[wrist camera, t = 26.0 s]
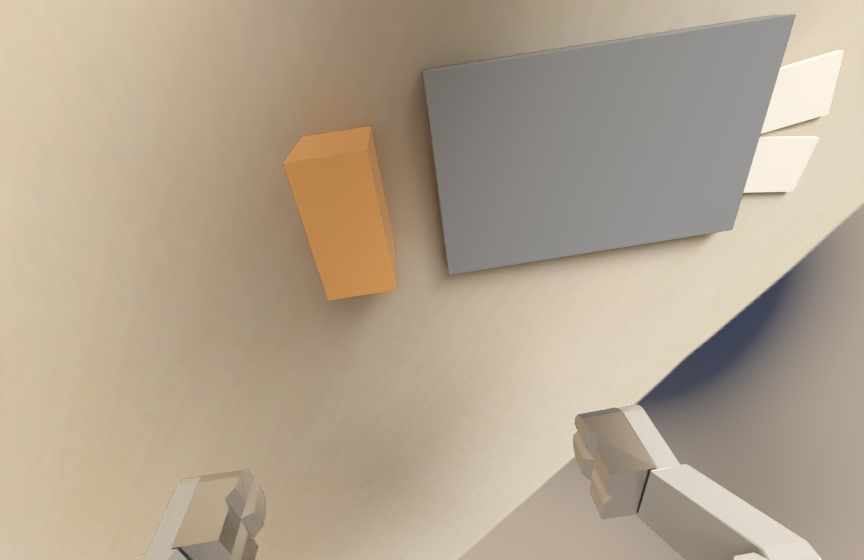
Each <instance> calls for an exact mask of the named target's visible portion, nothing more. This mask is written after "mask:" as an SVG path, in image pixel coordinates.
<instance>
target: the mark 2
mask: <svg viewBox="0 0 864 560" xmlns="http://www.w3.org/2000/svg"><path fill="white" fill-rule="evenodd" d="M818 140H819V137H816V136H782V137H760V138H759V141H758V144H757V148H756V151H755V155H754V158H753V161H752V165H751V168H750V171H749V175H748V178H747V182H746V185H745V188H744V192H743V193H753V192H790V191H793V190H794V188H795V186H796V184H797V182H798V180H799V178H800V176H801V174H802V172H803V170H804V168H805V166H806V164H807V162H808V160H809V158H810V156H811V154H812V152H813V150H814V148H815V146H816V144H817V142H818Z"/></svg>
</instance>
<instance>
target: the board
mask: <svg viewBox="0 0 864 560" xmlns="http://www.w3.org/2000/svg"><path fill="white" fill-rule="evenodd" d="M795 16H796V15H771V16H765V17H759V18H752V19H746V20H739V21H733V22H727V23H720V24H714V25H707V26H701V27H695V28H688V29H682V30H675V31H669V32H663V33H656V34H650V35H643V36H637V37H631V38H624V39H618V40H611V41H605V42H599V43H592V44H586V45H579V46H573V47H567V48H560V49H554V50H547V51H541V52H535V53H528V54H522V55H515V56H509V57H503V58H496V59H490V60H483V61H477V62H470V63H464V64H458V65H451V66H445V67H438V68H432V69H426V70H422V75H423V83H424V91H425V98H426V106H427V114H428V122H429V130H430V137H431V145H432V153H433V161H434V168H435V176H436V184H437V192H438V200H439V207H440V215H441V223H442V231H443V238H444V246H445V254H446V262H447V267H448V272H449V275H452V274H459V273H465V272H471V271H477V270H484V269H490V268H496V267H503V266H509V265H515V264H521V263H528V262H534V261H540V260H546V259H553V258H559V257H565V256H571V255H578V254H584V253H590V252H597V251H603V250H609V249H615V248H622V247H628V246H634V245H640V244H647V243H653V242H659V241H665V240H672V239H678V238H684V237H691V236H697V235H703V234H709V233H716V232H722V231H728V230H732V229H733V226H734V222H735V219H736V215H737V212H738V209H739V205H740V202H741V199H742V195H743V192H744V188H745V185H746V182H747V178H748V175H749V171H750V168H751V165H752V161H753V158H754V155H755V151H756V148H757V144H758V141H759V138H760V134H761V131H762V127H763V124H764V121H765V117H766V114H767V110H768V107H769V104H770V100H771V97H772V94H773V90H774V87H775V83H776V80H777V77H778V73H779V70H780V66H781V63H782V60H783V56H784V53H785V49H786V46H787V43H788V39H789V36H790V33H791V29H792V26H793V22H794V19H795Z"/></svg>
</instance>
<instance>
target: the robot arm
mask: <svg viewBox="0 0 864 560" xmlns="http://www.w3.org/2000/svg"><path fill="white" fill-rule="evenodd" d="M575 426H576V428H577V430H578V431H577V432H576V433H575V434H574V435H573V447H574V453H575V457H576V460H577V463H578V466H579V468H580V470H581V473H582V474H583V475H584V476H585V477H587V478H588V479H589V480H591V484H590V494H591V496H592V498H593V500H594V503H595V505H596V508H597V510H598V512H599V515H600V517H601V519H606V518H614V517H621V516H629V515H636V514H638V517H639V518H640V519H641V520H642V521H643V522H644V523H645V524H646V525H647V526H649V527H650V528H651V529H652V530H653V531H654V532H655V533H656V534H657V535H658V536H660V537H661V538H662V539H663V540H664V541H665V542H666V543H667V544H668V545H669V546H671V547H672V548H673V549H674V550H675V551H676V552H677V553H678V554H679V555H680V556H682V557H683V558H684V559H685V560H822V559H821V558H820V557H819V555H818V554H817V553H816V552H815V551H814V549H813V548H812V547H811V546H810V544H809V543H808V542H807V541H805V540H804V539H802V538H801V537H799V536H798V535H796V534H795V533H793V532H791V531H790V530H788V529H787V528H785V527H784V526H782V525H781V524H779V523H777V522H776V521H774V520H773V519H771V518H769V517H768V516H767V515H765V514H763V513H762V512H760V511H759V510H757V509H756V508H754V507H752V506H751V505H749V504H748V503H746V502H745V501H743V500H742V499H740V498H739V497H737V496H735V495H734V494H732V493H731V492H729V491H728V490H726V489H725V488H723V487H722V486H720V485H718V484H717V483H715V482H714V481H712V480H711V479H709V478H708V477H706V476H704V475H703V474H701V473H700V472H698V471H697V470H695V469H694V468H692V467H690V466H689V465H687V464H684V465H680V464H679V462H678V461H677V459H676V458H675V456H674V454H673V453H672V452H671V450H670V448H669V447H668V446H667V444H666V442H665V441H664V440H663V438H662V437H661V435H660V433H659V432H658V430H657V429H656V427H655V426H654V424H653V423H652V421H651V420H650V418H649V417H648V416H647V414H646V412H645V411H644V409H643V408H642V407H640V406H639V405H631V406H626V407H621V408H611V409H605V410H600V411H594V412H589V413H583V414H578V415H577V416H576V417H575ZM253 477H254V476H253V475H252V474H251V472H250V471H249V470H248V469H245V470H239V471H232V472H225V473H219V474H212V475H204V476H198V477H192V478H186V479H182V481H181V482H180V483H179V484H178V485H177V486H176V488H175V491H174V493H173V495H172V497H171V499H170V502H169V504H168V506H167V508H166V511H165V513H164V515H163V517H162V520H161V522H160V524H159V526H158V529H157V531H156V533H155V535H154V537H153V540H152V542H151V544H150V546H149V549H148V551H147V553H146V554H141V555H139V556H138V557H137V558H136V559H135V560H255V557H256V553H257V549H258V545H257V543H256V541H255V539H254V537H255V536H256V534H257V533H258V532H259V531H260V529H261V528H262V527H263V523H264V519H265V514H266V500H265V496H264V492H263V491H262V489H261V487H260V486H257V485H255V484H253V483H252V481H253Z"/></svg>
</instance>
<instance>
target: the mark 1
mask: <svg viewBox="0 0 864 560" xmlns="http://www.w3.org/2000/svg"><path fill="white" fill-rule="evenodd" d="M843 53H844V51H841V50H836V51H833V52H829V53H826V54H823V55H819V56H816V57H813V58H810V59H806V60H803V61H800V62H796V63H793V64H790V65H786V66H783V67H780V70H779V73H778V77H777V80H776V83H775V87H774V90H773V94H772V97H771V100H770V104H769V107H768V110H767V114H766V117H765V121H764V124H763V127H762V131H761V134H762V133H765V132H769V131H772V130H776V129H779V128H783V127H786V126H789V125H793V124H796V123H800V122H803V121H807V120H810V119H813V118H817V117H820V116H824V115H827V114H828V113H829V109H830V105H831V101H832V97H833V93H834V89H835V85H836V81H837V77H838V73H839V69H840V65H841V61H842V57H843Z"/></svg>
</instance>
